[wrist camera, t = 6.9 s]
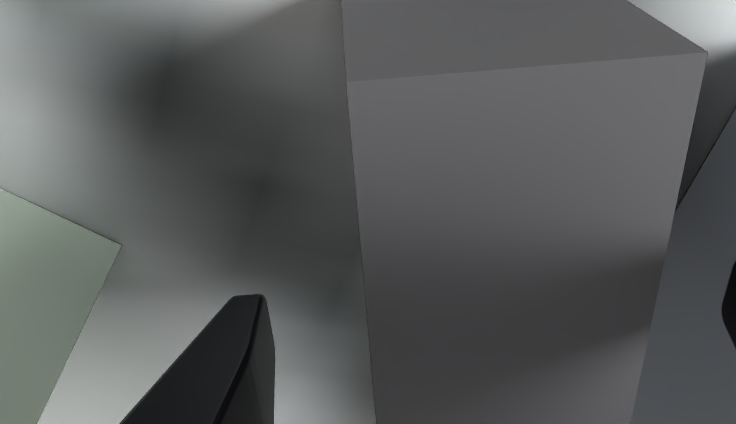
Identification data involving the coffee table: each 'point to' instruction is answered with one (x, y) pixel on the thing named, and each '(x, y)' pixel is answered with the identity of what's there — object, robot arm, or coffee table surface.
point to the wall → (42, 300)
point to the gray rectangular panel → (695, 304)
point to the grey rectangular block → (513, 201)
